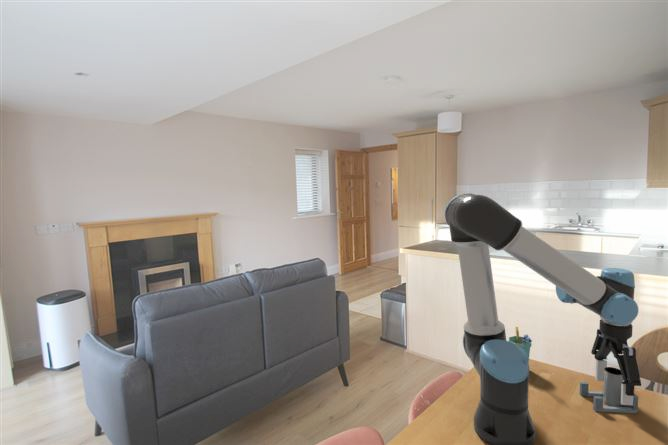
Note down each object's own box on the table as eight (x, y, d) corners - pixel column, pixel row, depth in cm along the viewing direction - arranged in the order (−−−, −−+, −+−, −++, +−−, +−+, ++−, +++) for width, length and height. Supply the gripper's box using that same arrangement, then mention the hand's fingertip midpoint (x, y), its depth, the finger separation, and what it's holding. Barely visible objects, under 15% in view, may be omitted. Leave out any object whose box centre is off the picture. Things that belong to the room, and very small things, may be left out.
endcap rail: (595, 411, 103) (595, 395, 102) (579, 394, 111) (579, 378, 111) (637, 413, 101) (638, 396, 101) (618, 395, 109) (618, 380, 109)
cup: (542, 380, 119) (542, 338, 118) (518, 380, 120) (518, 338, 118) (522, 360, 133) (523, 321, 132) (501, 360, 134) (501, 322, 132)
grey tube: (614, 409, 103) (615, 375, 102) (599, 400, 108) (600, 368, 106) (626, 406, 104) (627, 373, 103) (610, 397, 109) (612, 365, 108)
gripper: (661, 339, 91) (657, 418, 93) (605, 307, 114) (602, 371, 117) (629, 338, 92) (625, 417, 94) (579, 307, 115) (578, 370, 118)
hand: (613, 391), depth 105 cm, fingers open, 11 cm apart
